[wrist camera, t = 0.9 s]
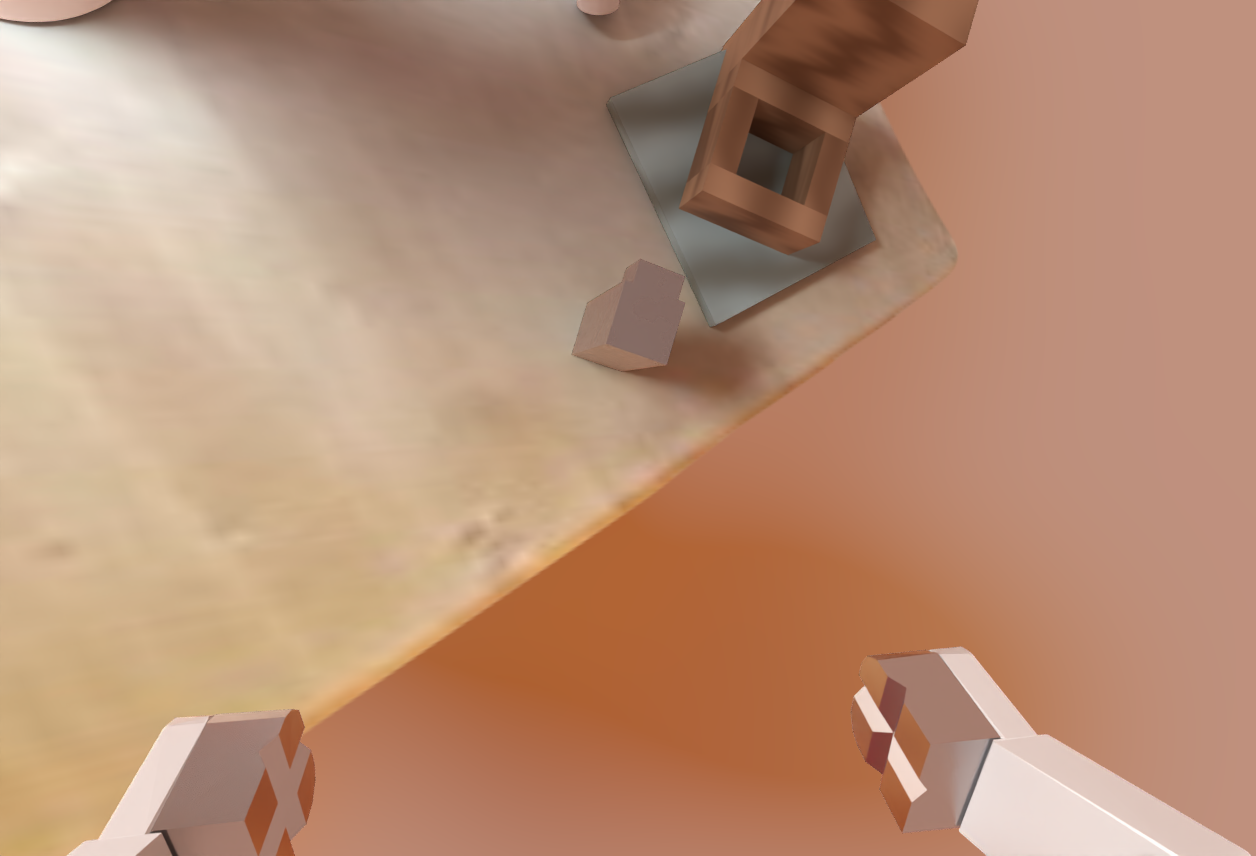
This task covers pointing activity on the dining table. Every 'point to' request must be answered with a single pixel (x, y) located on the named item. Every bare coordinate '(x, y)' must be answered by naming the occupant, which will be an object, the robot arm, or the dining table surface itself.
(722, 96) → the wooden square ring bracket
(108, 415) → the dining table surface
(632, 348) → the pin
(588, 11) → the wall hook
